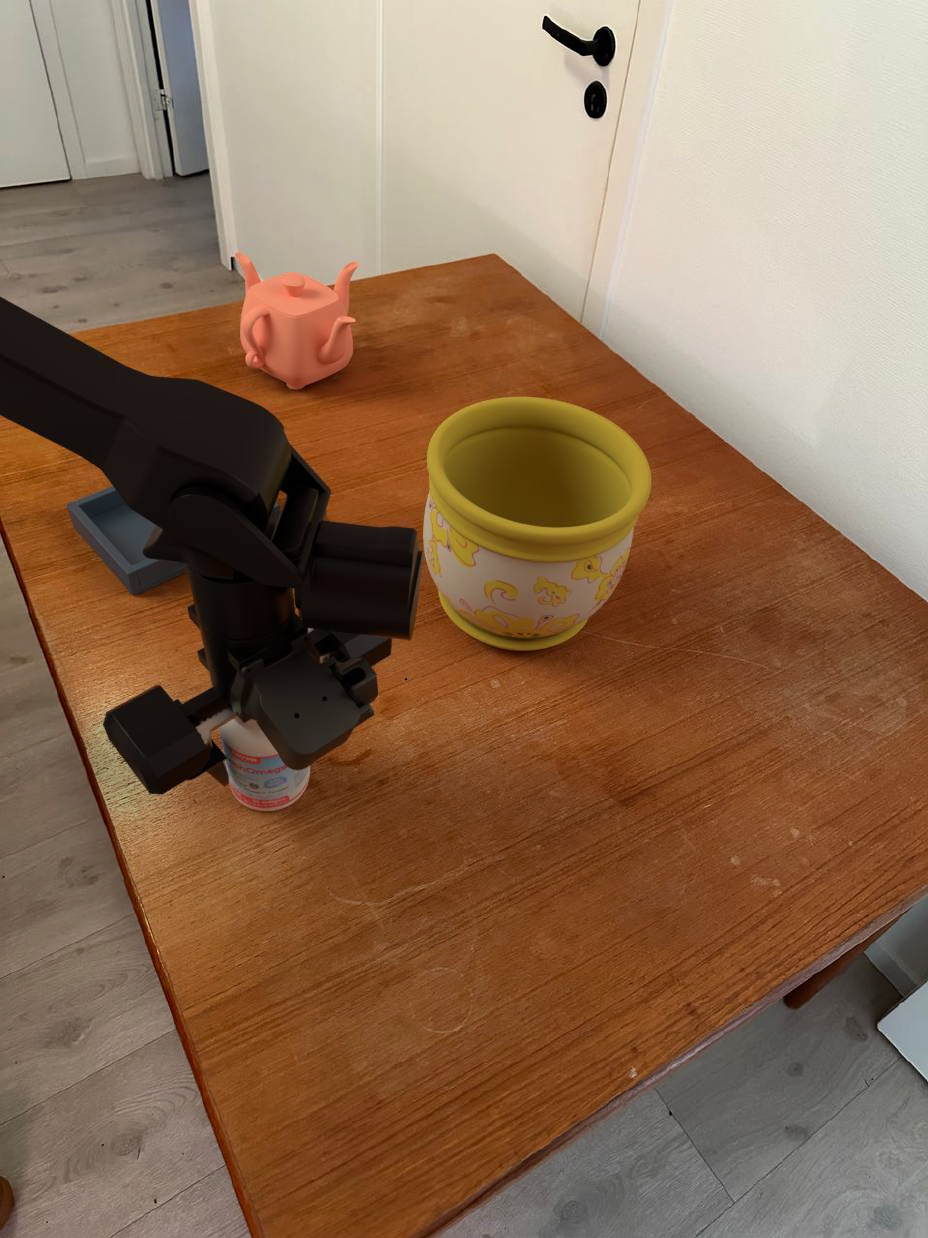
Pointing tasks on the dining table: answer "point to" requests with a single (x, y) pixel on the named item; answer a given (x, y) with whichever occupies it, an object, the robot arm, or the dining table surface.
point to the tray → (124, 539)
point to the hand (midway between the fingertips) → (268, 752)
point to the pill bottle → (259, 768)
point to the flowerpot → (530, 517)
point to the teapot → (296, 325)
